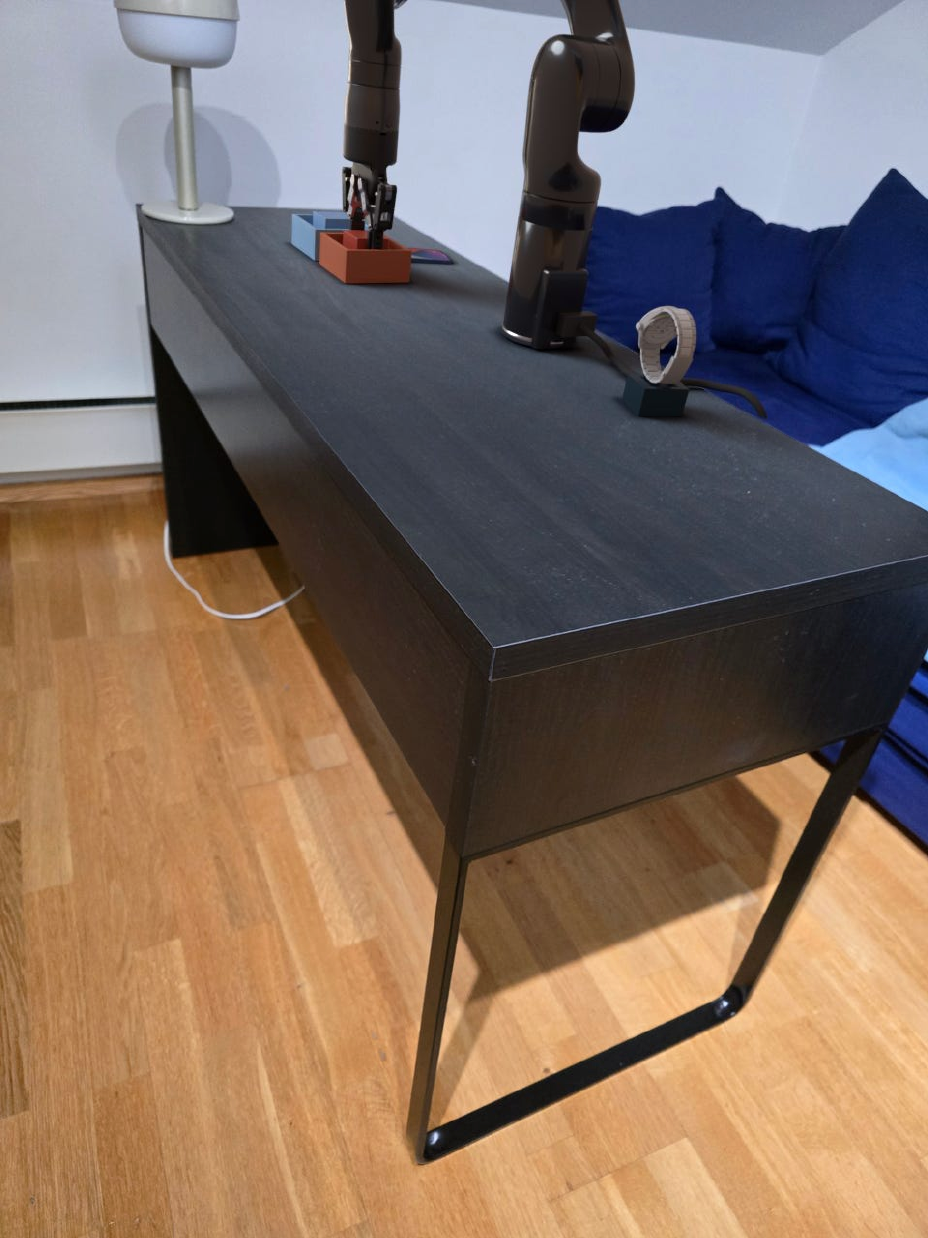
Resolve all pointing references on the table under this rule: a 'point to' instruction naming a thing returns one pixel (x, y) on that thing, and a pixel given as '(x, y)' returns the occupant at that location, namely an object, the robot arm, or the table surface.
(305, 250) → the blue bin
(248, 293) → the table surface
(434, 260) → the smartphone
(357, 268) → the orange bin
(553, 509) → the table surface
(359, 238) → the red block
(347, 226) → the blue block
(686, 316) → the watch
